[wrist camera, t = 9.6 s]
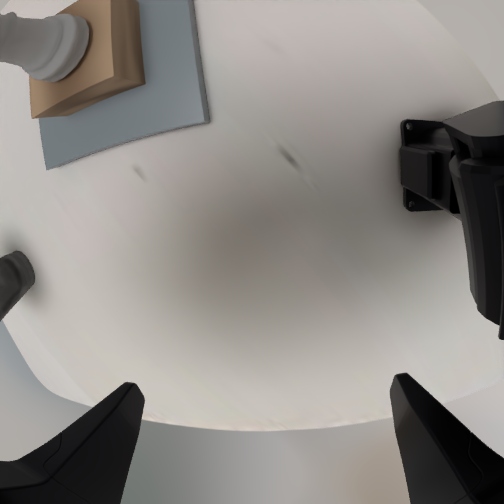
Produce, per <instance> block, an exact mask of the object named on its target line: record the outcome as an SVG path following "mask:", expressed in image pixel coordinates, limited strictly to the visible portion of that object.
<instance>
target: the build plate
mask: <svg viewBox="0 0 504 504" xmlns="http://www.w3.org/2000/svg"><path fill="white" fill-rule="evenodd" d="M136 1H137V2H139V15H140V31H141V43H142V54H143V64H144V73H145V82H146V84H145V85H142V86H139V87H136V88H133V89H130V90H128V91H125V92H122V93H120V94H117V95H114V96H112V97H109V98H107V99H104V100H102V101H100V102H97V103H95V104H93V105H90V106H88V107H86V108H84V109H82V110H79V111H77V112H75V113H73V114H71V115H69V116H59V117H45V118H39V125H40V133H41V140H42V147H43V153H44V159H45V165H46V170H49V169H53V168H56V167H59V166H62V165H64V164H67V163H69V162H72V161H74V160H77V159H79V158H82V157H85V156H88V155H90V154H93V153H96V152H99V151H102V150H105V149H108V148H111V147H114V146H117V145H120V144H124V143H127V142H130V141H134V140H137V139H141V138H144V137H148V136H152V135H155V134H159V133H163V132H167V131H171V130H176V129H180V128H184V127H189V126H194V125H198V124H203V123H209V122H210V118H209V112H208V105H207V99H206V92H205V85H204V78H203V71H202V64H201V57H200V50H199V43H198V35H197V27H196V20H195V12H194V4H193V0H136Z"/></svg>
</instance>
